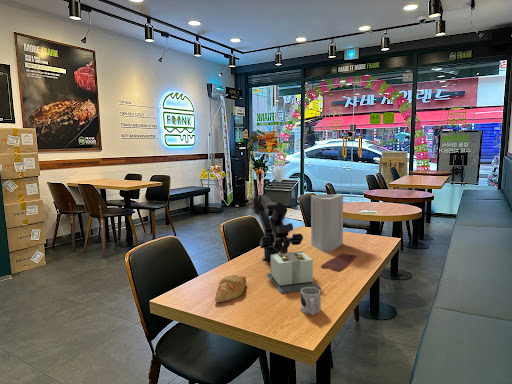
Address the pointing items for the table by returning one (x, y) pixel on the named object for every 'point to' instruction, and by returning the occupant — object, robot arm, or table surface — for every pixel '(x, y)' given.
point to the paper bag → (327, 221)
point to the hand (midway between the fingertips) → (285, 257)
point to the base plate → (292, 287)
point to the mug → (310, 300)
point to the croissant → (230, 288)
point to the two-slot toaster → (291, 268)
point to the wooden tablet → (339, 262)
